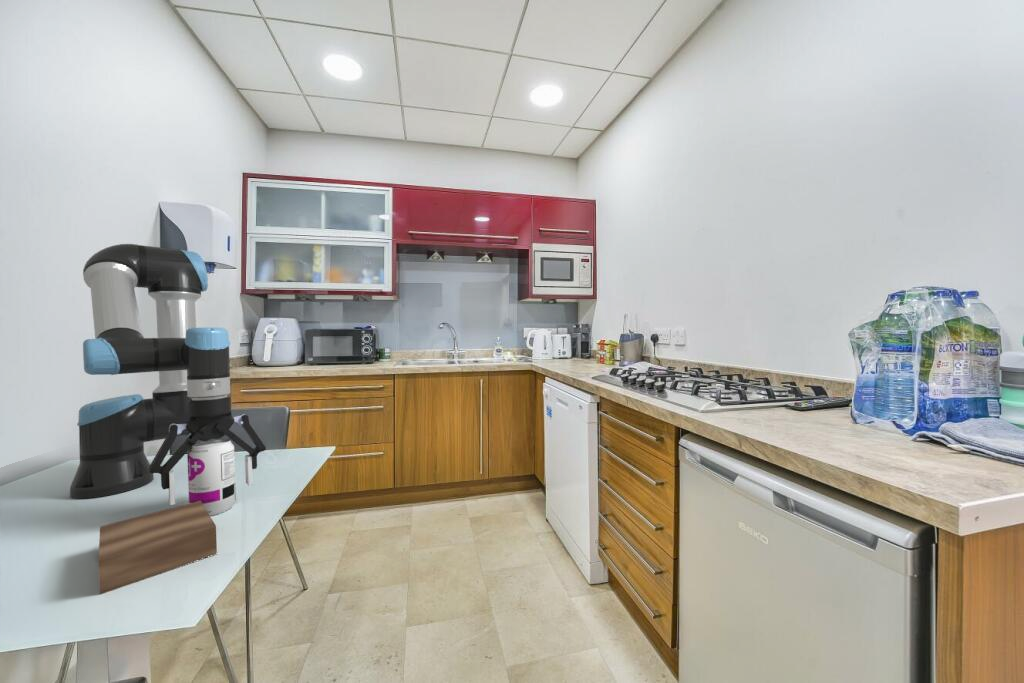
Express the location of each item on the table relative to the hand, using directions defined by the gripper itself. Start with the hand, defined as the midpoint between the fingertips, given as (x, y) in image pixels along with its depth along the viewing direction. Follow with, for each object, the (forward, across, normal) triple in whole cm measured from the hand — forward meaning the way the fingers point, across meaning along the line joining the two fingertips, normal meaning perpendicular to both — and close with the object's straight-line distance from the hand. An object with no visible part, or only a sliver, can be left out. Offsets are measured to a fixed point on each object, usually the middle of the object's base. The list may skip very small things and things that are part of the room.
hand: (212, 492), depth 85 cm
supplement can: (+4, 0, 0) cm, 4 cm away
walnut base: (+4, -10, -15) cm, 18 cm away
